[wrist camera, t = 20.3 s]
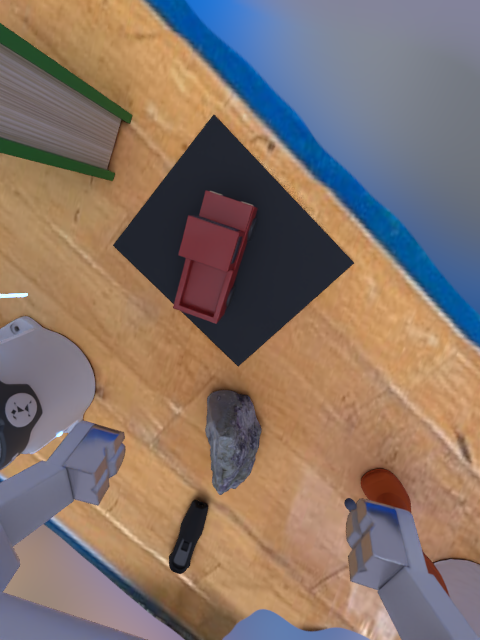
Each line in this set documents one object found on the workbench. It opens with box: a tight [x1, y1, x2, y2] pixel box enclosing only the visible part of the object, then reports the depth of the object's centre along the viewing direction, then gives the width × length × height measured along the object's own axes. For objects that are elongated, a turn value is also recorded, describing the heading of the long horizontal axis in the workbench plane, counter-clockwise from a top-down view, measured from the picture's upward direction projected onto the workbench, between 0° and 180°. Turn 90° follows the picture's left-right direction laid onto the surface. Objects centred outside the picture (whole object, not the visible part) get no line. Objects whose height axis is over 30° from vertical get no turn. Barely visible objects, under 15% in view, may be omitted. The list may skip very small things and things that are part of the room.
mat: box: [113, 115, 354, 366], centre depth 37 cm, size 19×22×1 cm
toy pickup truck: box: [173, 190, 258, 324], centre depth 33 cm, size 13×6×8 cm, turn 163°
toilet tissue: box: [434, 559, 480, 639], centre depth 41 cm, size 11×12×10 cm
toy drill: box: [345, 469, 450, 597], centre depth 35 cm, size 5×19×15 cm, turn 38°
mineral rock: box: [205, 390, 261, 495], centre depth 40 cm, size 13×11×10 cm
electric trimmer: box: [169, 500, 208, 574], centre depth 49 cm, size 4×16×3 cm, turn 162°
